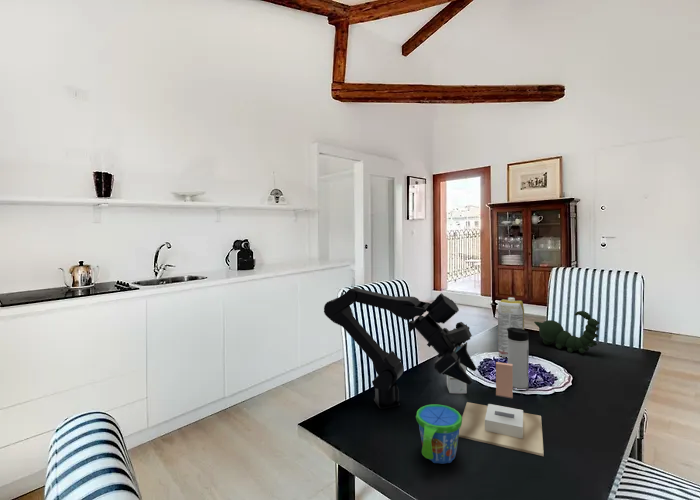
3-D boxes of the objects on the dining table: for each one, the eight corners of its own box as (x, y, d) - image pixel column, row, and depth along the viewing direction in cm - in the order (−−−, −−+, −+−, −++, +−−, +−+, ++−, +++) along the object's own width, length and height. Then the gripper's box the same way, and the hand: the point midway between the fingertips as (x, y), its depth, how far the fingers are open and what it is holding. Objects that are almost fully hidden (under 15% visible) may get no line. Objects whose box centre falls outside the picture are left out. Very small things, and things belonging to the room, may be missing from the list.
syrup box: (467, 393, 115) (466, 350, 114) (448, 393, 116) (448, 350, 115) (463, 385, 121) (462, 344, 120) (445, 385, 121) (445, 344, 120)
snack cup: (434, 432, 95) (433, 395, 94) (473, 447, 88) (472, 407, 87) (403, 463, 83) (402, 421, 82) (445, 483, 76) (444, 438, 76)
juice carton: (524, 354, 146) (524, 297, 144) (522, 361, 139) (522, 301, 138) (500, 351, 151) (500, 295, 149) (497, 357, 144) (496, 299, 143)
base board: (456, 436, 93) (456, 434, 93) (467, 403, 109) (467, 402, 109) (543, 456, 84) (543, 453, 84) (541, 417, 100) (541, 415, 100)
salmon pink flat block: (495, 395, 96) (495, 363, 95) (496, 393, 97) (496, 361, 96) (512, 398, 94) (512, 365, 93) (512, 396, 95) (512, 364, 94)
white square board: (484, 430, 94) (484, 419, 94) (488, 413, 102) (488, 403, 102) (522, 438, 90) (522, 426, 90) (523, 420, 98) (523, 409, 98)
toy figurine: (598, 357, 145) (538, 337, 165) (604, 313, 142) (542, 297, 162) (587, 363, 139) (526, 341, 160) (593, 317, 137) (530, 300, 157)
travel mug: (503, 383, 121) (502, 326, 120) (521, 382, 122) (521, 325, 120) (513, 392, 115) (512, 331, 114) (532, 390, 116) (532, 330, 114)
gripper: (446, 324, 91) (492, 373, 87) (459, 308, 108) (498, 348, 104) (417, 350, 95) (459, 397, 91) (433, 330, 112) (470, 370, 108)
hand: (473, 376), depth 98 cm, fingers open, 9 cm apart
